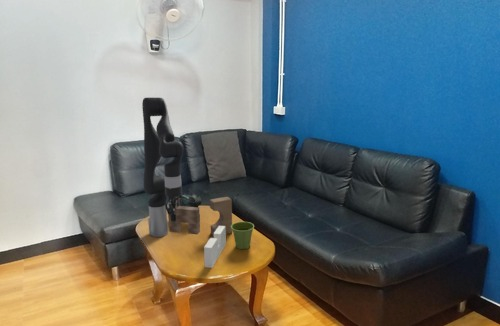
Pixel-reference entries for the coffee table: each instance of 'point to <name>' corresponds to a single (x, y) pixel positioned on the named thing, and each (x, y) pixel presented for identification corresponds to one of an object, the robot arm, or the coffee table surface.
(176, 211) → the walnut notched plate
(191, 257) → the coffee table surface
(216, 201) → the decorative block
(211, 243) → the white notched plate
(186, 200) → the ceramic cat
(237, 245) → the plant pot
